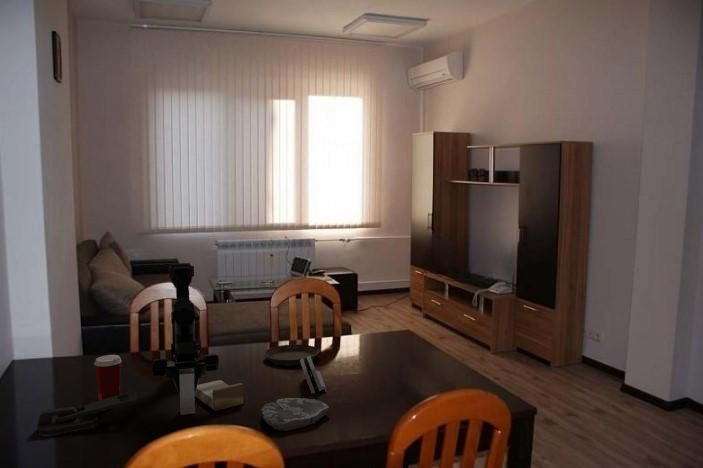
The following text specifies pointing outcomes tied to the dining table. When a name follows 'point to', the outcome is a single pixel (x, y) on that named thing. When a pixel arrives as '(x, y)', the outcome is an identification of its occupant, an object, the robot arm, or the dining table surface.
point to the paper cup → (108, 376)
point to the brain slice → (293, 413)
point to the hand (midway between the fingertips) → (187, 391)
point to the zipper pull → (79, 415)
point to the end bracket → (187, 391)
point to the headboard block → (220, 394)
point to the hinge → (315, 375)
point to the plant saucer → (291, 354)
